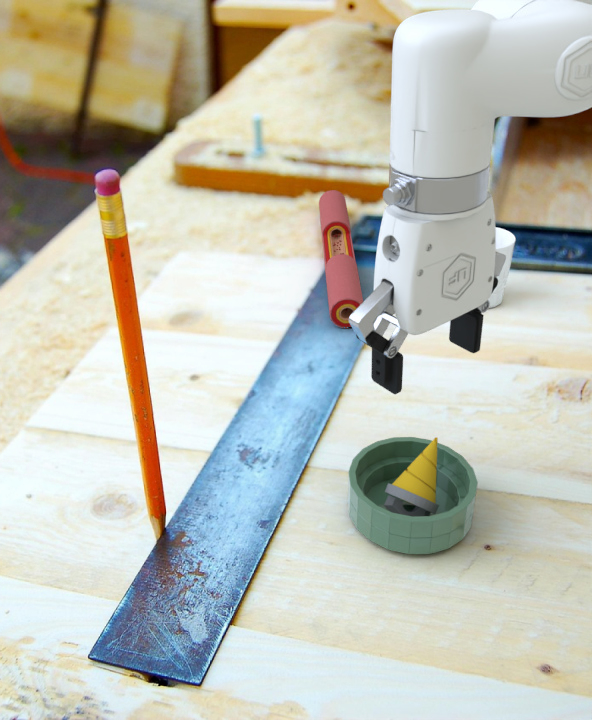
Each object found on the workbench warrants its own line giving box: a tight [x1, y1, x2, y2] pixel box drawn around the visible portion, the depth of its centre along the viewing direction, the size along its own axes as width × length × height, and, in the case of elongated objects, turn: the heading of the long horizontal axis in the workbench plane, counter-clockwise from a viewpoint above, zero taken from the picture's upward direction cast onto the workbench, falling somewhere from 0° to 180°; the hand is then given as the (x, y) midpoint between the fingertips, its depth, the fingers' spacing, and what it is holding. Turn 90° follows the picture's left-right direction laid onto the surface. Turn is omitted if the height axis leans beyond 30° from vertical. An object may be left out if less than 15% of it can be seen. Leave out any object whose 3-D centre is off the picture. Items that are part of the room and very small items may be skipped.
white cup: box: [488, 226, 517, 309], centre depth 112 cm, size 8×8×10 cm
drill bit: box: [384, 436, 439, 517], centre depth 77 cm, size 5×5×10 cm
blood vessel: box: [318, 189, 364, 329], centre depth 126 cm, size 42×5×5 cm, turn 177°
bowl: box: [347, 436, 478, 555], centre depth 78 cm, size 12×12×5 cm
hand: (426, 365), depth 69 cm, fingers open, 9 cm apart
